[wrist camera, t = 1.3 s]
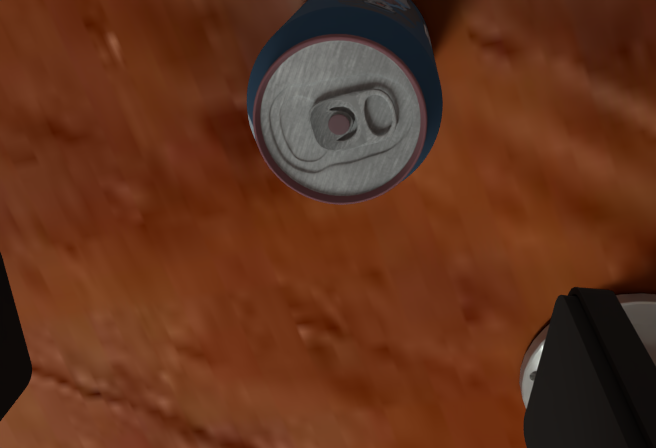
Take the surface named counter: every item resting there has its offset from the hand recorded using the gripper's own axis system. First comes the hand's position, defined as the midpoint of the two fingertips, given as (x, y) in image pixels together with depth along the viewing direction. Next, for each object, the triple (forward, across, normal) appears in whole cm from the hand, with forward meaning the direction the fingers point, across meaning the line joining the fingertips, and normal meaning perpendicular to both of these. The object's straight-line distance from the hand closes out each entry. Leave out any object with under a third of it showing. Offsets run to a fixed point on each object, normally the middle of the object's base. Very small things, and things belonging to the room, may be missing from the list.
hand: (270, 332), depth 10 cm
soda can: (+23, 0, 0) cm, 23 cm away
